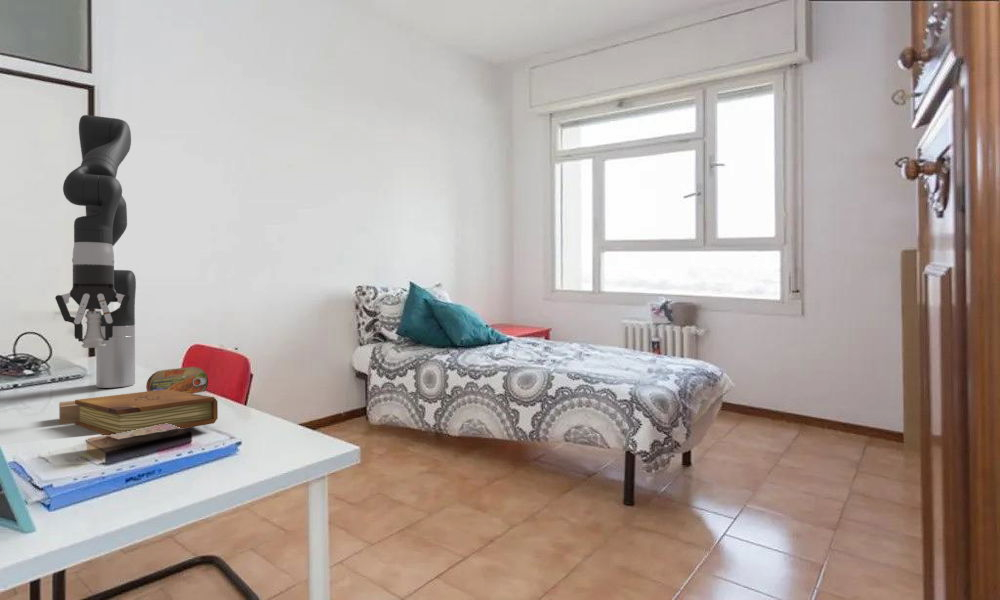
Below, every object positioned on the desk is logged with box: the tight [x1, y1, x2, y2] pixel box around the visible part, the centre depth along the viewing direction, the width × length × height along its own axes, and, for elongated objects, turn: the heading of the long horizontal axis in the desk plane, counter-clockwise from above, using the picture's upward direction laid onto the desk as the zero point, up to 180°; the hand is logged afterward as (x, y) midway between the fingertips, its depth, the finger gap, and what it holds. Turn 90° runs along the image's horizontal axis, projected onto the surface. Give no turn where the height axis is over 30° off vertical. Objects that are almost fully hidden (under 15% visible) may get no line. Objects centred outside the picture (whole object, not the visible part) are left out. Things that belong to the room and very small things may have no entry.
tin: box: [145, 366, 209, 394], centre depth 151 cm, size 15×3×8 cm, turn 144°
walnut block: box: [58, 400, 80, 425], centre depth 125 cm, size 8×8×4 cm
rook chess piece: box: [81, 310, 106, 349], centre depth 126 cm, size 4×4×8 cm
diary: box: [74, 389, 219, 436], centre depth 120 cm, size 23×19×6 cm
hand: (93, 340), depth 126 cm, fingers closed on rook chess piece, 4 cm apart
